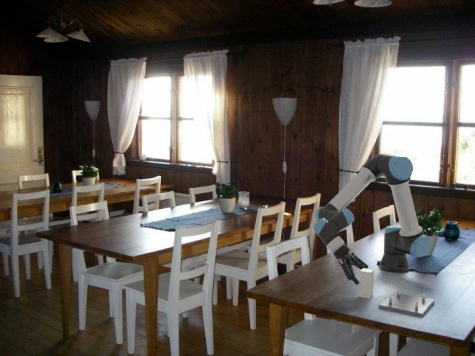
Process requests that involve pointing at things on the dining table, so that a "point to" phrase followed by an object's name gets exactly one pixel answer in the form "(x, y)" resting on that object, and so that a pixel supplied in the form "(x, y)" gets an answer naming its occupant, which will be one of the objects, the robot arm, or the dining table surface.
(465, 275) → the dining table surface
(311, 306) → the dining table surface
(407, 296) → the plate
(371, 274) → the block
